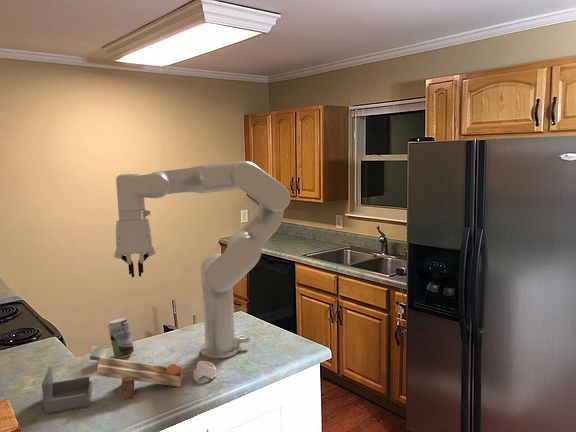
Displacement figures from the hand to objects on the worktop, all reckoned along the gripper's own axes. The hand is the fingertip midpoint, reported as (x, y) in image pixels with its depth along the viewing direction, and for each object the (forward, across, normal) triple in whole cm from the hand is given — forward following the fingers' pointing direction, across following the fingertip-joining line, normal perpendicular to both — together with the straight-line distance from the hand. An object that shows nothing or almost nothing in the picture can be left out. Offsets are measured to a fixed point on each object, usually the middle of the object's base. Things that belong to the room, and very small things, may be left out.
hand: (136, 275), depth 139 cm
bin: (+27, +18, +18) cm, 37 cm away
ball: (+24, -8, +18) cm, 31 cm away
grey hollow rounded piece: (+28, -17, +17) cm, 36 cm away
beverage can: (+27, +6, -6) cm, 29 cm away
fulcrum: (+27, +4, +18) cm, 33 cm away
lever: (+24, +3, +13) cm, 28 cm away
